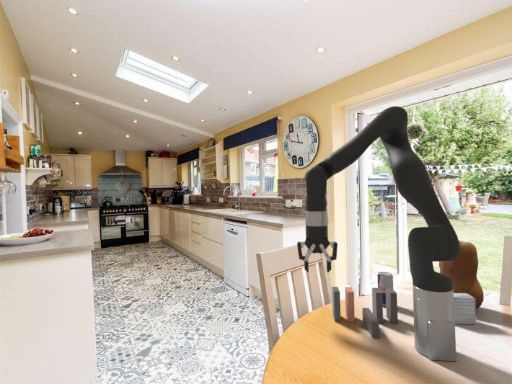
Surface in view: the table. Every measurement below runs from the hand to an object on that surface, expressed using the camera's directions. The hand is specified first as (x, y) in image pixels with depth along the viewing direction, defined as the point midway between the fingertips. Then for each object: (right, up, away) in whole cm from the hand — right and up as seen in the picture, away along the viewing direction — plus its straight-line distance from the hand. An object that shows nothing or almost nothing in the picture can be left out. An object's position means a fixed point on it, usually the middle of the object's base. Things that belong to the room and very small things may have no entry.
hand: (317, 271), depth 97 cm
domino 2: (+11, -16, -2) cm, 19 cm away
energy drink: (+28, -15, +9) cm, 33 cm away
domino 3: (+15, -13, -5) cm, 20 cm away
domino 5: (+24, -15, -4) cm, 29 cm away
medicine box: (+45, -15, -6) cm, 48 cm away
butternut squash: (+53, -15, +4) cm, 55 cm away
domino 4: (+20, -15, -3) cm, 25 cm away
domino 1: (+6, -16, -1) cm, 17 cm away
